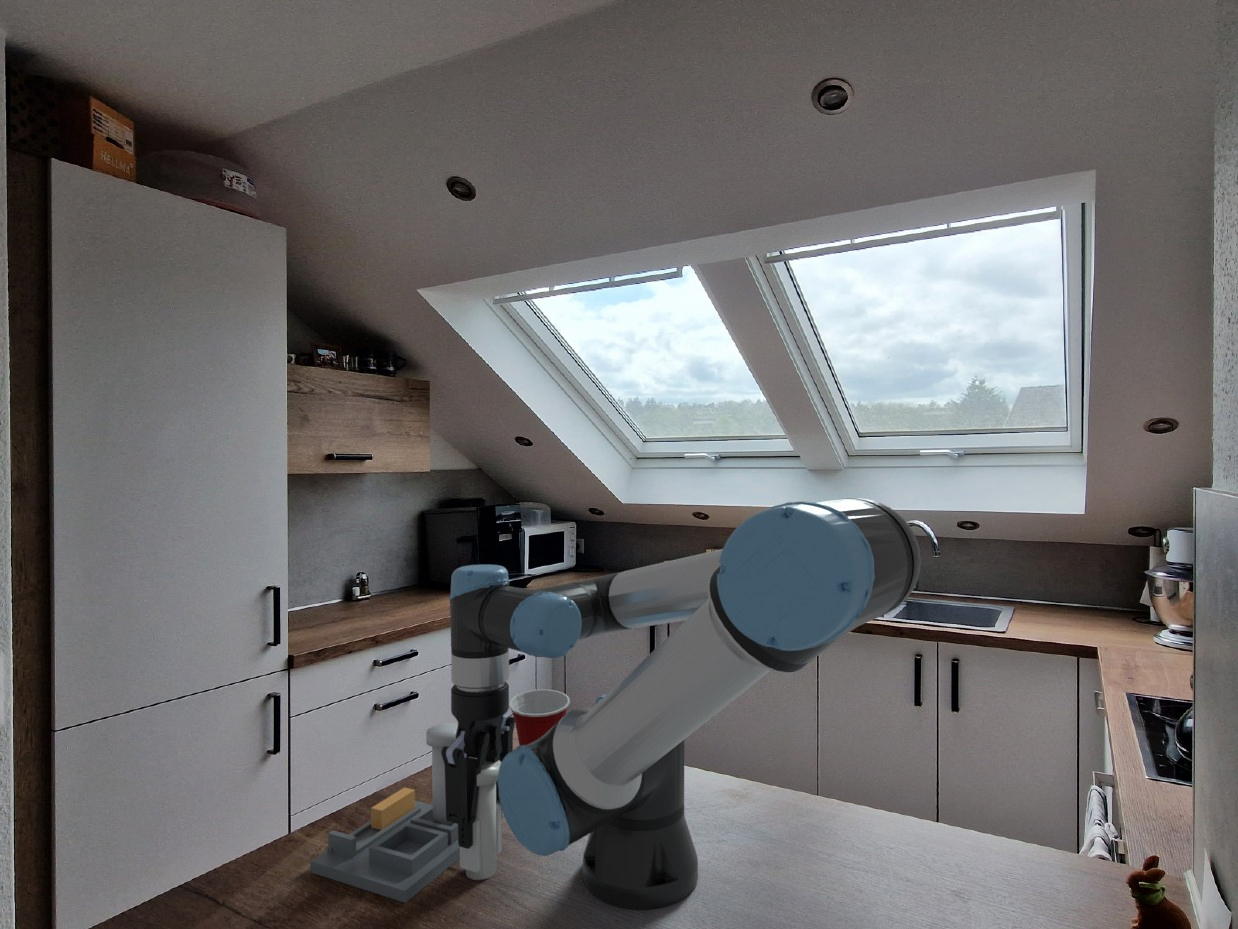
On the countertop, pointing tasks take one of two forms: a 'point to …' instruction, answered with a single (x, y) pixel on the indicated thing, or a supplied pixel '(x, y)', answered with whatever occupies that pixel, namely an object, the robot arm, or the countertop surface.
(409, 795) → the bar
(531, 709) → the plastic cup
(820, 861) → the countertop surface
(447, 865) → the housing
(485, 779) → the round-headed peg
